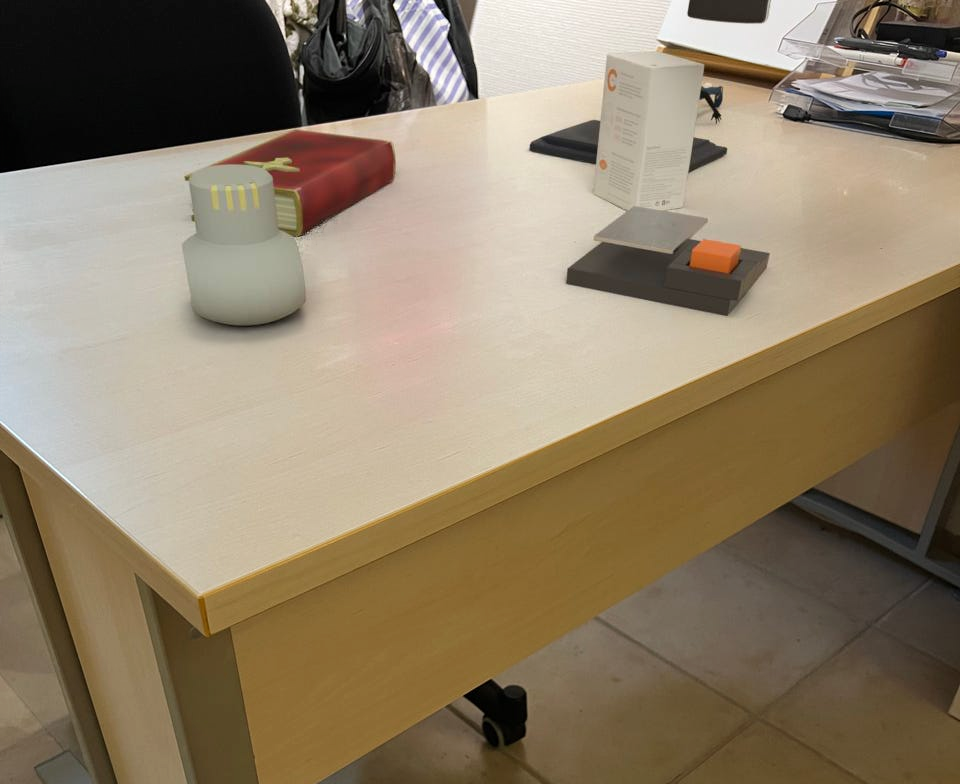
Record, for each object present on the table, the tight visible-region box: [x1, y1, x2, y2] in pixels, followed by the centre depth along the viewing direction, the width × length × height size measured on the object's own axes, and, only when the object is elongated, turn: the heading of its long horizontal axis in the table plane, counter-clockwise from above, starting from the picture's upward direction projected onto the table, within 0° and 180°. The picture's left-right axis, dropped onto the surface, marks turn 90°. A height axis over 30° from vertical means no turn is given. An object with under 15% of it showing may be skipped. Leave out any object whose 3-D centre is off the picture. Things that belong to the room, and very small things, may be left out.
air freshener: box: [181, 164, 307, 327], centre depth 70 cm, size 11×8×10 cm
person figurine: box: [699, 82, 724, 124], centre depth 130 cm, size 11×4×18 cm
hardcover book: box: [184, 128, 397, 238], centre depth 95 cm, size 12×21×4 cm, turn 159°
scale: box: [565, 238, 770, 317], centre depth 81 cm, size 14×13×3 cm
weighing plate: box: [593, 206, 709, 255], centre depth 82 cm, size 7×10×1 cm
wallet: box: [528, 119, 728, 173], centre depth 114 cm, size 20×2×15 cm
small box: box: [592, 50, 705, 212], centre depth 95 cm, size 8×6×13 cm
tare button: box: [690, 238, 742, 274], centre depth 76 cm, size 3×3×2 cm
